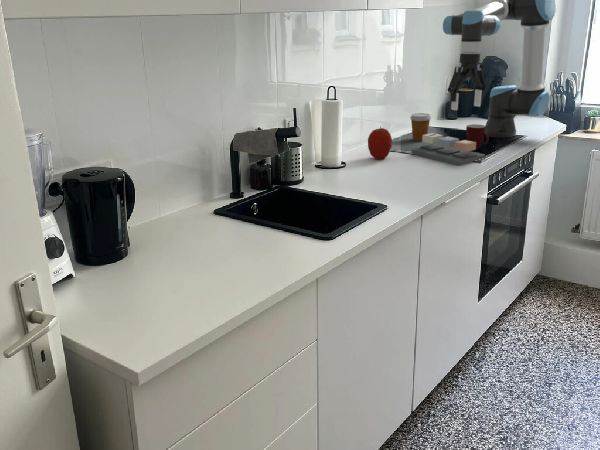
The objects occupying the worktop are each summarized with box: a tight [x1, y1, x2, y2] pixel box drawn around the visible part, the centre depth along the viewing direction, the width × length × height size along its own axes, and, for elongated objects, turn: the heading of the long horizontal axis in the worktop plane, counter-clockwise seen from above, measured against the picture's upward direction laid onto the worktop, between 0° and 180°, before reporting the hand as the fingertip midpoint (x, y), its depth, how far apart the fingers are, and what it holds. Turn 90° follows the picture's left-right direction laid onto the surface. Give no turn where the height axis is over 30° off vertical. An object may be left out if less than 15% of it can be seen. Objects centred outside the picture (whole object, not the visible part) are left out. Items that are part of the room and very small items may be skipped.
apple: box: [367, 126, 393, 160], centre depth 248 cm, size 10×10×14 cm
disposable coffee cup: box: [410, 112, 432, 142], centre depth 279 cm, size 10×10×12 cm
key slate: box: [437, 136, 460, 148], centre depth 249 cm, size 6×6×3 cm
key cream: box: [421, 132, 444, 145], centre depth 256 cm, size 6×6×3 cm
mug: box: [465, 123, 490, 150], centre depth 261 cm, size 10×8×10 cm
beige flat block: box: [454, 139, 477, 152], centre depth 242 cm, size 6×6×3 cm
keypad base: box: [411, 143, 486, 167], centre depth 251 cm, size 16×26×3 cm, turn 35°
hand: (465, 108), depth 237 cm, fingers open, 13 cm apart
